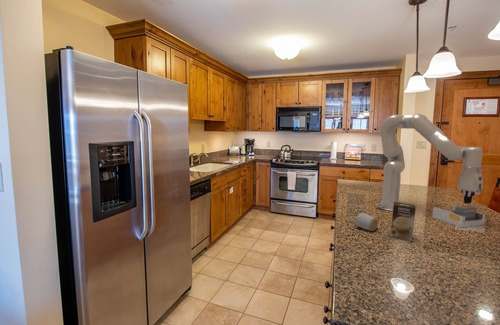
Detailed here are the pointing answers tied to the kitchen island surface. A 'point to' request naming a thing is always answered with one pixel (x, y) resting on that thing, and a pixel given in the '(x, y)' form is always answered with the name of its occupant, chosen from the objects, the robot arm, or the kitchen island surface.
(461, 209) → the panel
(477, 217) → the rack
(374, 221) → the grey short cylinder
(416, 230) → the kitchen island surface
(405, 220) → the coffee box
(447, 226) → the kitchen island surface
